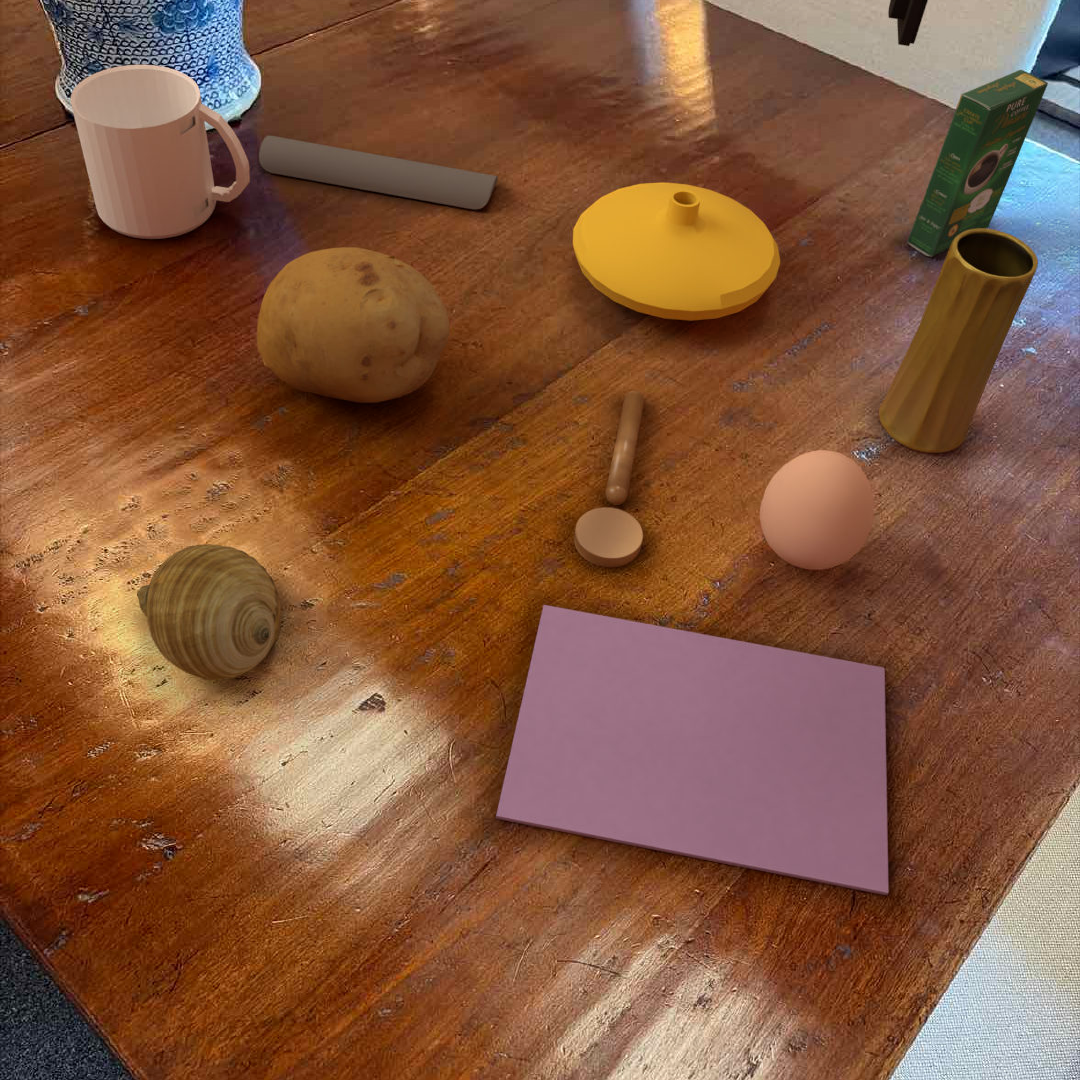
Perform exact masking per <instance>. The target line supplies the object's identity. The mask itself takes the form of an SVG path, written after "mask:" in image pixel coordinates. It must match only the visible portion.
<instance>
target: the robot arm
mask: <svg viewBox="0 0 1080 1080" xmlns="http://www.w3.org/2000/svg"><path fill="white" fill-rule="evenodd" d="M928 1H929V0H890V1H889V5H888V14H887V15H888V19H896V24H897V26H896V27H897V45H899V46H906V47H910V45H913V44H915V42H916V39H917V36H918V32H919V30H920V26H921V24H922V20H923V17H924V14H925V10H926V7H927V5H928Z"/></svg>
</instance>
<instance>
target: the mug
mask: <svg viewBox="0 0 1080 1080" xmlns="http://www.w3.org/2000/svg"><path fill="white" fill-rule="evenodd" d="M70 104H71V109H72V113H73V118H74V122H75V125H76V130H77V134H78V138H79V143H80V145H81V146H80V147H81V151H82V155H83V159H84V164H85V167H86V171H87V174H88V179H89V184H90V189H91V192H92V197H93V200H94V201H93V202H94V204H95V208H96V213H97V215H98V217H99V218H100V220H102V222H103V223H104V224H105V225H106V226H108V228H110V229H111V230H113V231H115V232H117V233H119V234H121V235H124V236H128V237H130V238H136V239H140V240H141V239H142V240H143V239H145V240H159V239H161V240H162V239H167V238H168V239H169V238H173V237H178V236H181V235H184V234H187V233H189V232H191V231H193V230H196V229H197V228H199V227H201V226H202V225H203V224H204V223H205V222H207V221H208V220H209V218H210V217H211V216H212V214H213V213H214V210H215V208H216V206H217V205H216V204H217V201H219V202H224V203H230V202H231V201H233V200H235V199H237V198H238V197H239V195H241V194H242V193H243V191H244V190H245V189H246V187H248V185H249V184H250V183H251V177H250V176H251V175H250V170H251V169H250V161H249V159H248V156H247V155H246V152H245V150H244V148H243V146H242V143H241V141H240V139H239V138H238V136H237V134H236V133H235V131H234V130H233V129H232V127H231V126H230V125H229V123H228V122H227V121H226V120H225V118H224V117H223V116H222V114H220V113H218V112H217V111H215V110H213V109H212V108H211V107H209V106H208V105H205V104H203V103H202V96H201V91H200V88H199V85H198V83H196V81H195V80H194V79H193V78H192V77H190V76H188V75H187V74H186V73H183V72H181V71H180V70H177V69H173V68H170V67H166V66H161V65H155V64H154V65H153V64H127V65H120V66H115V67H111V68H106V69H103V70H100V71H98V72H95V73H93V74H90V75H89V76H87V77H85V78H84V79H82V80H81V81H80V82H79V83H77V85H76V86H75V87H74V88H73V90H72V92H71V94H70ZM206 124H207V125H209V126H211V127H212V128H213V129H215V130H216V131H217V132H218V135H220V137H221V138H222V140H223V141H224V143H225V144H226V146H227V149H228V150H229V153H230V155H231V158H232V160H233V163H234V168H235V181H233V183H232V184H231V185H229V187H225V186H220V185H219V186H218V185H216V186H215V181H214V173H213V169H212V162H211V161H212V160H211V155H210V147H209V142H208V135H207V128H206Z"/></svg>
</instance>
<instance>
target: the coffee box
mask: <svg viewBox="0 0 1080 1080" xmlns="http://www.w3.org/2000/svg"><path fill="white" fill-rule="evenodd" d="M1048 84H1049V83H1048V82H1047V81H1046V80H1043V79H1041V78H1040V77H1038V76H1036V75H1034V74H1033V73H1030V72H1027V71H1025V70H1024V69H1018V70H1016V71H1014V72H1012V73H1008V74H1006V75H1004V76H1002V77H1000V78H997V79H995V80H992V81H990V82H988V83H985V84H983V85H980V86H978V87H976V88H973V89H970V90H969V91H966V92H964V93H961V95H960V97H959V99H958V102H957V105H956V107H955V111H954V113H953V117H952V119H951V122H950V125H949V127H948V131H947V133H946V136H945V139H944V141H943V144H942V147H941V150H940V152H939V155H938V158H937V160H936V162H935V166H934V168H933V171H932V173H931V176H930V179H929V182H928V186H927V188H926V190H925V194H924V196H923V198H922V201H921V204H920V206H919V208H918V212H917V214H916V217H915V220H914V224H913V225H912V228H911V231H910V233H909V236H908V238H907V244H908V245H909V246H910V247H912V248H914V249H915V250H916V251H918V252H920V253H921V254H922V255H924V256H925V257H930V258H933V257H935V256H936V255H938V254H941V253H944V252H946V251H947V250H949V248H950V246H951V243H952V241H953V240H954V239H955V237H956V236H958V235H959V234H961V233H962V232H964V231H966V230H970V229H978V228H987V229H989V226H990V225H991V221H992V219H993V217H994V215H995V212H996V211H997V208H998V205H999V203H1000V201H1001V199H1002V196H1003V194H1004V191H1005V190H1006V189H1005V188H1006V186H1007V184H1008V182H1009V179H1010V177H1011V174H1012V172H1013V169H1014V167H1015V164H1016V162H1017V159H1018V157H1019V155H1020V153H1021V150H1022V148H1023V145H1024V143H1025V140H1026V137H1027V135H1028V133H1029V131H1030V128H1031V125H1032V123H1033V121H1034V118H1035V116H1036V114H1037V112H1038V108H1039V106H1040V104H1041V101H1042V99H1043V97H1044V95H1045V92H1046V89H1047V87H1048Z"/></svg>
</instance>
